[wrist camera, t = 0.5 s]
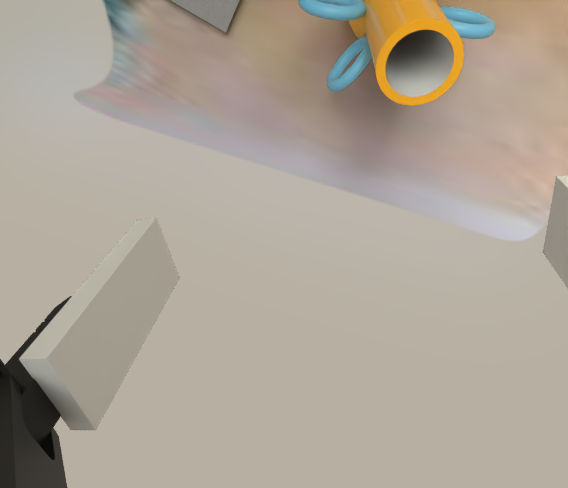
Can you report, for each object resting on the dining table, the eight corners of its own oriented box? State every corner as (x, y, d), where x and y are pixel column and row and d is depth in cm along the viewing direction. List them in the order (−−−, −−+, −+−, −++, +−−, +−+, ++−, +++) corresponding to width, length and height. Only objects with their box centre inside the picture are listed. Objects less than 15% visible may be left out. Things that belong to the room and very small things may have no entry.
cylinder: (293, 50, 34) (279, 146, 23) (313, -118, 27) (306, -93, 16) (440, 70, 34) (494, 174, 23) (499, -91, 27) (617, -48, 16)
